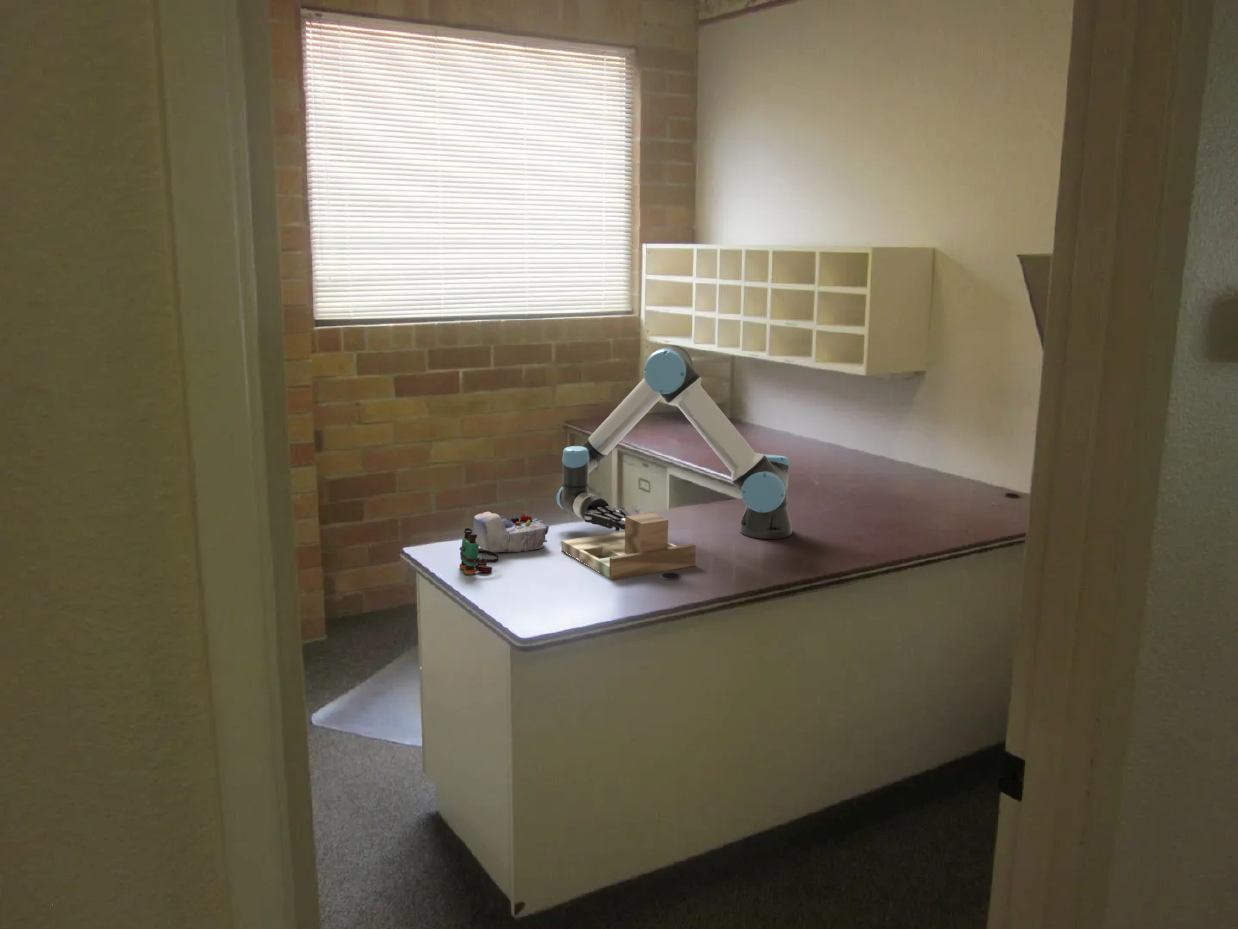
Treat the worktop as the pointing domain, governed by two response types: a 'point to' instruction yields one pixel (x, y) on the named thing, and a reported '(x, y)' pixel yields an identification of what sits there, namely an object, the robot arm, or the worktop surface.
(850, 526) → the worktop surface
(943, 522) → the worktop surface
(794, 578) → the worktop surface
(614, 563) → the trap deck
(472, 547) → the binoculars
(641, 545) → the walnut block
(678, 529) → the worktop surface
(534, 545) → the cell model
